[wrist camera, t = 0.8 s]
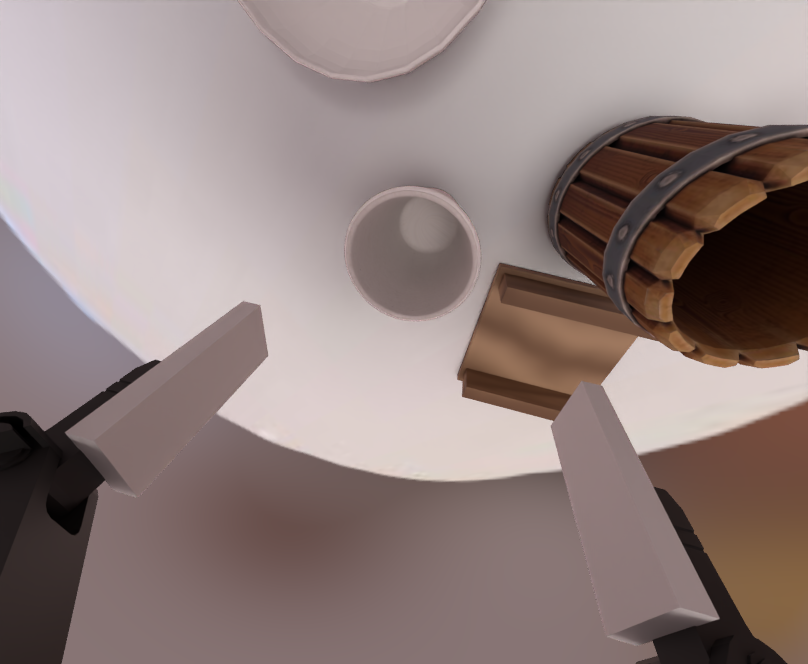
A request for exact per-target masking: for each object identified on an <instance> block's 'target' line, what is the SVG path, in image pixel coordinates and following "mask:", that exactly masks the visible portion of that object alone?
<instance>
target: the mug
mask: <svg viewBox="0 0 808 664" xmlns="http://www.w3.org/2000/svg"><path fill="white" fill-rule="evenodd" d="M549 205H550V208H549V212H548V216H547V217H548V229H549V233H550V237H551V240H552V243H553V246H554V247H555V249H556V250H557V251H558V253H559V254H560V255H561V257H562V258H563V259H564V260H565V261H566V262H567V263H568V264H569V265H570V266H572V267H573V268H575V269H576V270H578V271H579V272H580V273H582V274H583V275H586V276H587V277H588V278H589V279H590V280H591V281H592V282H593V283H595V284H596V285H597V286H598V287H599V288H600V289H601V290H602V291H604V292H605V293H606V294H607V295H608V296H609V297H610V299H611V300H612V301H613V303H614V304H615V305H616V307H617V308H618V310H619V311H621V312H622V313H623V314H624V315H625V316H626V317H627V318H628V319H629V320H630V321H632V322H633V323H634V324H635V325H636V326H637V327H639V328H640V329H642V330H643V331H645V332H646V333H648V334H649V335H651V336H652V337H654V338H656V339H657V340H658V341H660V342H661V343H662V344H664V345H665V346H667V347H668V348H670V349H671V350H673V351H680V352H681V353H682V354H683V355H684V356H685V357H688V358H691V359H694V360H696V361H699V362H702V363H705V364H709V365H713V366H718V367H724V368H726V367H730V366H735V365H737V363H739V364H741V365H747V366H752V367H757V368H769V367H777V366H784V365H789V364H791V363H793V362H795V361H797V360H799V352H798V349H802V350H806V351H808V125H767V126H763V127H756V126H744V125H732V124H720V123H708V122H704V121H701V120H698V119H695V118H692V117H683V116H649V117H645V118H642V119H638V120H634V121H631V122H627V123H624V124H622V125H620V126H618V127H616V128H614V129H612V130H610V131H608V132H606V133H604V134H603V135H602V136H600V137H599V138H597V139H596V140H595V141H594V142H593V143H589V144H588V145H587V146H586V147H585V148H583V149H582V150H581V151H580V152H579V153H578V154H577V155H576V156H575V157H574V158H573V160H572V161H571V162H570V163H569V164H568V165H567V168H566V171H565V172H564V173H563V175H562V177H560V178H559V179H558V181H557V183H556V185H555V187H554V189H553V192H552V195H551V199H550V202H549Z"/></svg>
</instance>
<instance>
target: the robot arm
mask: <svg viewBox="0 0 808 664" xmlns="http://www.w3.org/2000/svg"><path fill="white" fill-rule="evenodd" d="M267 357H268V351H267V345H266V338H265V332H264V326H263V319H262V313H261V307H260V305H257V304H253V303H248V302H244V301H243V302H241V303H240V304H239V305H237V306H236V307H235V308H233V309H232V310H231V311H229V312H228V313H226V314H225V315H224V316H222V317H221V318H220V319H218V320H217V321H216V322H214V323H213V324H212V325H210V326H209V327H207V328H206V329H205V330H203V331H202V332H201V333H199V334H198V335H197V336H195V337H194V338H192V339H191V340H190V341H188V342H187V343H186V344H184V345H183V346H182V347H180V348H179V349H178V350H176V351H175V352H173V353H172V354H171V355H169V356H168V357H167V358H165V359H164V360H163V361H158V360H154V361H151V362H149V363H147V364H144V365H142V366H140V367H137V368H135V369H134V370H132V371H131V372H130V373H128V374H127V375H125V376H124V377H123V378H121V379H120V381H119V382H116V383H114V384H112V385H111V386H110V387H108V388H107V389H106V391H105V392H101V393H100V394H98V395H97V396H95V397H94V398H92V399H91V400H90V401H88V402H87V403H85V404H84V405H82V406H81V407H80V408H78V409H77V410H75V411H74V412H72V413H71V414H70V415H68V416H67V417H65V418H64V419H63V420H61V421H60V422H58V423H57V424H55V425H54V426H53V427H51V428H50V429H48V430H46V431H45V432H44V431H43V430H42V429H41V428H40V426H38V424H37V423H36V422H35V421H34V420H33V419H32V418H31V417H30V416H29V415H28V414H27V413H24V412H17V411H12V412H4V413H0V664H61V663H62V659H63V654H64V650H65V645H66V641H67V636H68V632H69V627H70V623H71V618H72V613H73V609H74V604H75V600H76V595H77V591H78V586H79V582H80V577H81V573H82V568H83V563H84V559H85V555H86V549H87V545H88V541H89V536H90V532H91V527H92V523H93V518H94V514H95V509H96V505H97V500H98V491H97V489H96V488H97V487H98V486H99V485H100V484H102V483H103V481H106V482H107V483H108V484H109V486H110V487H111V488H112V489H113V490H114V491H116V492H120V493H123V494H126V495H130V496H133V497H137V498H138V497H139V496H140V495H141V494H142V493H143V492H144V490H145V489H147V487H148V486H149V485H150V484H151V483H152V482H153V481H154V480H155V479H156V478H157V477H158V475H159V474H160V473H161V472H162V471H163V470H164V469H165V468H166V467H167V466H168V464H169V463H170V462H171V461H172V460H173V459H174V458H175V457H176V456H177V455H178V454H179V452H180V451H181V450H182V449H183V448H184V447H185V446H186V444H188V443H189V442H190V441H191V439H192V438H193V437H194V436H195V435H196V434H197V433H198V432H199V431H200V430H201V429H202V427H203V426H204V425H205V424H206V423H207V422H208V421H209V420H210V419H211V418H212V417H213V415H214V414H215V413H216V412H217V411H218V410H219V409H220V408H221V407H222V406H223V405H224V403H225V402H226V401H227V400H228V399H229V398H230V397H231V396H232V395H233V394H234V393H235V391H236V390H237V389H238V388H239V387H240V386H241V385H242V384H243V383H244V382H245V381H246V379H247V378H248V377H249V376H250V375H251V374H252V373H253V372H254V371H255V370H256V369H257V367H258V366H259V365H260V364H261V363H262V362H263V361H264V360H265V359H266V358H267ZM551 429H552V433H553V436H554V440H555V444H556V448H557V452H558V456H559V459H560V463H561V467H562V471H563V475H564V478H565V482H566V486H567V490H568V494H569V497H570V501H571V505H572V508H573V513H574V517H575V520H576V524H577V528H578V532H579V536H580V539H581V543H582V547H583V550H584V555H585V559H586V562H587V566H588V570H589V574H590V577H591V581H592V585H593V589H594V593H595V596H596V600H597V604H598V608H599V612H600V615H601V619H602V623H603V627H604V631H605V635H606V637H609V638H612V639H616V640H619V641H622V642H626V643H630V644H632V645H636V646H638V645H641V644H644V643H647V642H650V641H653V643H654V646H655V649H656V652H657V654H658V656H656V657H652V658H649V659H645V660H642V661H638V662H636V664H787V663H786V662H785V661H784V660H783V659H782V658H781V657H780V656H779V655H778V654H777V653H776V652H775V651H774V650H772V649H771V648H770V647H768V646H767V645H765V644H764V643H763V642H761V641H760V640H759V639H756V638H754V636H753V635H752V633H751V632H750V630H749V629H748V627H747V626H746V624H745V622H744V620H743V618H742V617H741V615H740V613H739V611H738V610H737V608H736V606H735V604H734V602H733V600H732V599H731V597H730V595H729V593H728V591H727V590H726V588H725V586H724V584H723V582H722V581H721V579H720V577H719V575H718V573H717V572H716V570H715V568H714V566H713V564H712V562H711V561H710V559H709V557H708V555H707V554H706V553H704V551H703V549H704V548H703V546H702V545H701V542H700V541H699V539H698V537H697V535H695V534H694V530H693V528H692V526H691V524H690V522H689V521H688V519H687V517H686V515H685V514H684V512H683V510H682V509H681V507H680V506H679V505H678V504H677V503H676V502H675V501H674V499H673V498H672V497H671V496H670V495H669V494H668V492H667V491H665V490H663V489H660V488H656V487H653V485H652V484H651V482H650V480H649V478H648V475H647V473H646V472H645V470H644V468H643V466H642V464H641V462H640V460H639V458H638V456H637V454H636V452H635V450H634V448H633V446H632V444H631V442H630V440H629V438H628V436H627V434H626V432H625V430H624V428H623V426H622V424H621V422H620V420H619V418H618V416H617V414H616V412H615V410H614V408H613V406H612V404H611V402H610V400H609V398H608V396H607V394H606V392H605V390H604V388H603V387H602V386H601V385H597V384H593V383H589V382H584V381H581V382H580V384H579V385H578V387H577V388H576V390H575V391H574V393H573V394H572V396H571V397H570V398H569V400H568V401H567V403H566V404H565V406H564V407H563V409H562V410H561V412H560V413H559V414H558V416H557V417H556V419H555V420H554V422H553V423H552V425H551Z"/></svg>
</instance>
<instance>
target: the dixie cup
mask: <svg viewBox="0 0 808 664" xmlns="http://www.w3.org/2000/svg"><path fill="white" fill-rule="evenodd" d="M344 252H345V262H346V267H347V270H348V273H349V276H350V278H351V280H352V282H353V284H354V286H355V288H356V289H357V291H358V292H359V293H360V294H361V296H362V297H363V298H364V299H365V300H366V301H367V302H368V303H369V304H370V305H372V306H373V307H374V308H376V309H377V310H379V311H381V312H382V313H384V314H386V315H389V316H391V317H394V318H397V319H401V320H407V321H426V320H431V319H435V318H438V317H441V316H443V315H445V314H447V313H449V312H451V311H452V310H454V309H455V308H457V307H458V306H459V305H460V304H461V303H462V302H463V301H464V300H465V299H466V298H467V297H468V295H469V294H470V293H471V291H472V289H473V288H474V286H475V283H476V281H477V278H478V275H479V272H480V266H481V248H480V242H479V238H478V235H477V232H476V230H475V227H474V225H473V224H472V222H471V220H470V219H469V217H468V216H467V214H466V213H465V212H464V211H463V210H462V209H461V207H460V206H459V205H458V203H457V202H456V201H455V200H454V198H453V197H452V196H451V195H449V194H448V193H447V192H445V191H443V190H440V189H437V188H424V187H418V186H401V187H395V188H391V189H388V190H385V191H383V192H380V193H378V194H377V195H375V196H373V197H372V198H370V199H369V200H368V201H367V202H366V203H364V204H363V205H362V206H361V208H360V209H359V210H358V211H357V213H356V214H355V215H354V217H353V219H352V221H351V223H350V225H349V228H348V230H347V234H346V239H345V248H344Z"/></svg>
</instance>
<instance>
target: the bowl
mask: <svg viewBox="0 0 808 664" xmlns="http://www.w3.org/2000/svg"><path fill="white" fill-rule="evenodd" d="M485 1H486V0H238V2H239V3H240V4H241V6H242V7H243V8H244V10H245V11H246V12H247V14H248V15H249V16H250V18H251V19H252V21H253V22H254V23H255V25H256V26H257V27H258V29H259V30H260V31H261V32H262V33H263V34H264V35H265V36H266V37H267V38H269V39H270V40H271V41H272V42H273V43H274V44H275V45H277V46H278V47H279V48H280V49H281V50H282V51H284V52H285V53H286V54H287V55H288V56H289V57H290V58H292V59H293V60H294V61H295V62H297V63H299V64H301V65H303V66H306V67H308V68H310V69H312V70H314V71H316V72H319V73H321V74H323V75H325V76H327V77H329V78H333V79H342V80H351V81H361V82H375V81H379V80H383V79H387V78H392V77H396V76H400V75H404V74H408V73H410V72H411V71H413V70H414V69H416V68H417V67H419V66H421V65H422V64H424V63H425V62H427V61H428V60H430V59H432V58H433V57H435V56H436V55H438V54H439V53H441V52H443V51H444V50H445V49H446V48H447V47H448V46H449V44H450V43H451V42H452V41H453V40H454V39H455V38H456V37H457V36H458V35H459V34H460V33H461V31H462V30H463V29H464V28H465V27H466V26H467V25H468V24H469V23H470V22H471V21H472V20H473V19H474V17H475V16H476V15H477V14H478V13H479V11H480V9H481V8H482V6H483V4H484V3H485Z"/></svg>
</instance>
